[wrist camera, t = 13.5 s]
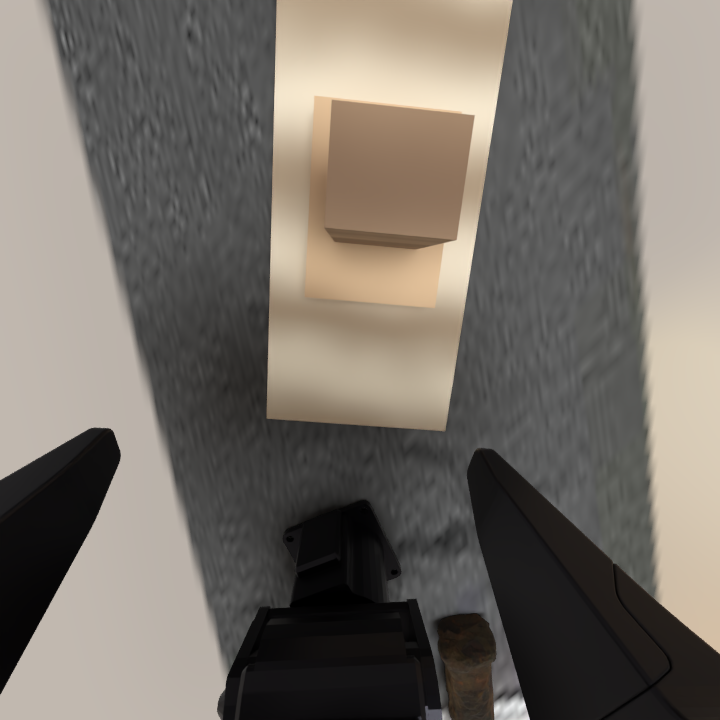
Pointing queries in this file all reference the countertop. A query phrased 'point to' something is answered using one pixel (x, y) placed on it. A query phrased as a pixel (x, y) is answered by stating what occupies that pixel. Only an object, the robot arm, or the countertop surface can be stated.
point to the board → (292, 190)
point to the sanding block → (383, 199)
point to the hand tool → (468, 665)
